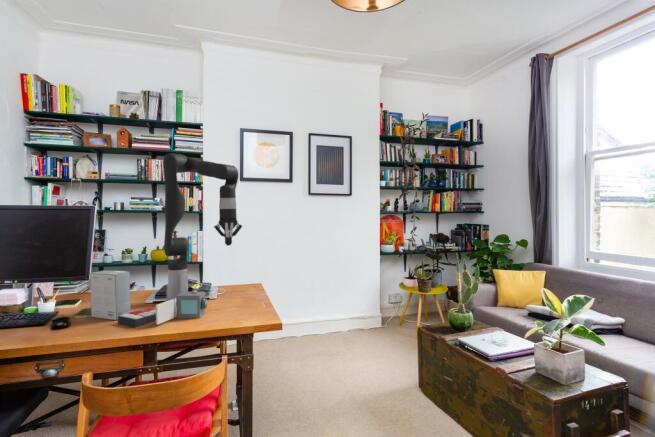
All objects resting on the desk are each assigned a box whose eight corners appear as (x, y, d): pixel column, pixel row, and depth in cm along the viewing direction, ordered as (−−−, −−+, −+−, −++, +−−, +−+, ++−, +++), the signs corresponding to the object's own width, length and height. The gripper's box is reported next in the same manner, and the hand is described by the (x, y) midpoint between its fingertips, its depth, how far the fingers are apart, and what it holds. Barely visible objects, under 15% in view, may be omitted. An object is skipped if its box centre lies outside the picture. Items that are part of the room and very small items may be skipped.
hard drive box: (131, 315, 152) (130, 271, 152) (116, 320, 145) (114, 274, 144) (106, 311, 158) (105, 269, 157) (90, 317, 150) (89, 272, 150)
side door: (171, 317, 146) (171, 299, 146) (174, 317, 146) (173, 299, 146) (154, 324, 138) (154, 304, 138) (157, 324, 137) (157, 305, 137)
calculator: (166, 309, 150) (135, 318, 136) (166, 319, 150) (134, 328, 136) (149, 306, 155) (117, 314, 141) (149, 316, 155) (117, 324, 141)
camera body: (173, 319, 147) (173, 294, 146) (181, 313, 155) (181, 290, 155) (203, 319, 147) (202, 294, 147) (209, 313, 155) (208, 289, 155)
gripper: (214, 208, 149) (215, 247, 150) (244, 207, 156) (244, 245, 157) (211, 208, 156) (212, 245, 156) (239, 208, 162) (240, 243, 163)
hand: (228, 245), depth 156 cm, fingers closed
